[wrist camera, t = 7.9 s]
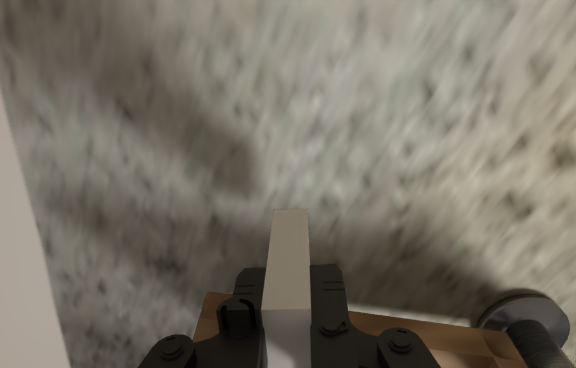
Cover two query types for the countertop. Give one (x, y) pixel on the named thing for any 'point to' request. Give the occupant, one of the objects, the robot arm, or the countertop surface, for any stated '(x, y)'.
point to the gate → (437, 337)
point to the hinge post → (531, 328)
